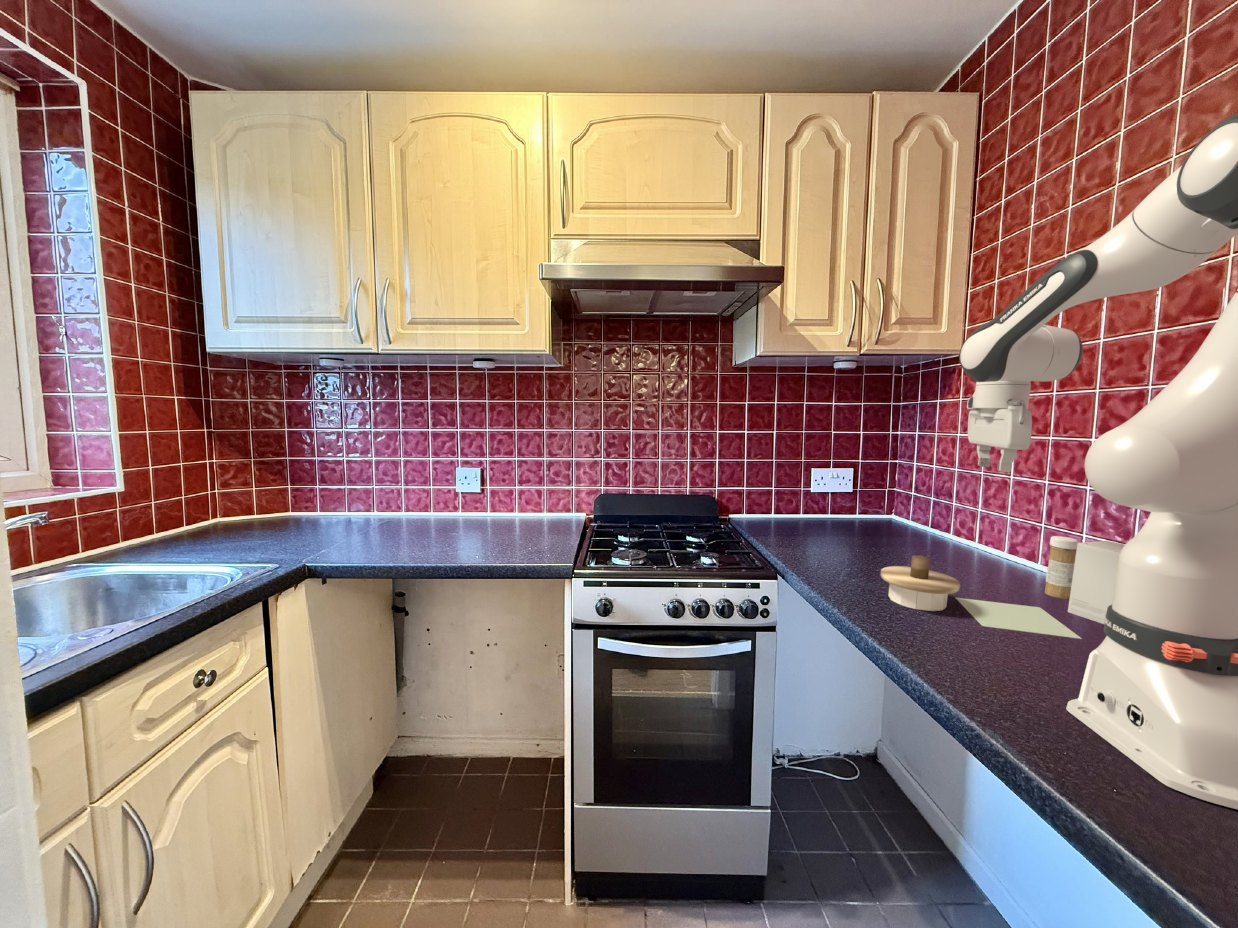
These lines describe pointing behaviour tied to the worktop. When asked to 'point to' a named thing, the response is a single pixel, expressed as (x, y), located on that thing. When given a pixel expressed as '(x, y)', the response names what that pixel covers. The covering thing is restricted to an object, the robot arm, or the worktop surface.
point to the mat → (1015, 617)
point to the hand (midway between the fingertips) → (993, 469)
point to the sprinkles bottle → (1060, 566)
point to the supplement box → (1094, 579)
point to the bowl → (917, 599)
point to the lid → (920, 577)
